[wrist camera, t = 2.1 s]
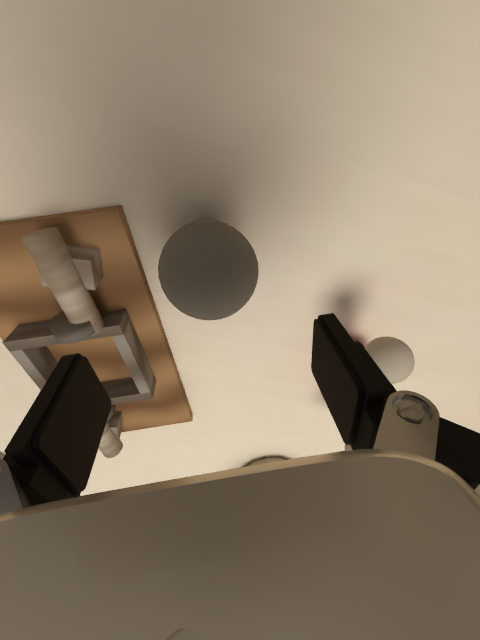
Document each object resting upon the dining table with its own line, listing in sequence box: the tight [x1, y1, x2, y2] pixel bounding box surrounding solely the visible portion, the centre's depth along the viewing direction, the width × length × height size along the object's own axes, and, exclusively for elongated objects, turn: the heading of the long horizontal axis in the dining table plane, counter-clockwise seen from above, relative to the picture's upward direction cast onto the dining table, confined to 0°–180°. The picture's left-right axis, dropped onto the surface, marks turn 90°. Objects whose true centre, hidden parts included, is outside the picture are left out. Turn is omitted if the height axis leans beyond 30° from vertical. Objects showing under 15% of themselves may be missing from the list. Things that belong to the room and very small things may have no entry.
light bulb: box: [158, 219, 258, 320], centre depth 19 cm, size 6×6×10 cm
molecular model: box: [345, 337, 414, 451], centre depth 29 cm, size 18×6×10 cm, turn 14°
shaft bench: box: [0, 206, 193, 458], centre depth 26 cm, size 26×14×5 cm, turn 6°
